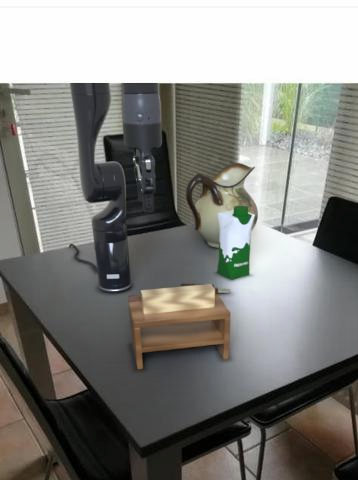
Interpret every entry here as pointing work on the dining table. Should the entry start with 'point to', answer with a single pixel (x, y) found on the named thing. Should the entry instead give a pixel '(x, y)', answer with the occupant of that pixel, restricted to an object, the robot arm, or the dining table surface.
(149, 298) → the beech stick
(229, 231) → the milk carton
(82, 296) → the dining table surface
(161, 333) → the shelf
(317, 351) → the dining table surface
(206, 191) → the pitcher
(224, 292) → the ice cream bar
